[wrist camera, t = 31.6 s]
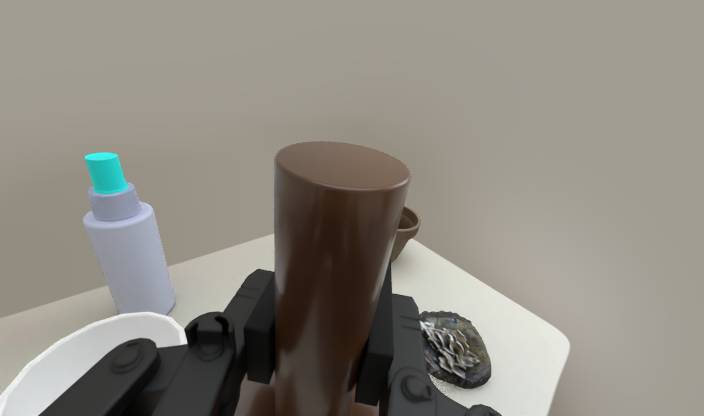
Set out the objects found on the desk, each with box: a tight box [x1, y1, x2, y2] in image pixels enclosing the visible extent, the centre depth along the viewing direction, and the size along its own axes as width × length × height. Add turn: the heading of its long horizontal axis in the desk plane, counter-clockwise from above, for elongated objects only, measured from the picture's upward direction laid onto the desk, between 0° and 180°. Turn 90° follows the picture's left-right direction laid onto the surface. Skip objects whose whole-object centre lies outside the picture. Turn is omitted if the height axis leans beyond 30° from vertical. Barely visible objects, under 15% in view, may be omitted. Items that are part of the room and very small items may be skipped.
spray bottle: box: [83, 153, 175, 315], centre depth 31 cm, size 6×6×22 cm
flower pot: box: [391, 206, 421, 262], centre depth 52 cm, size 12×11×10 cm
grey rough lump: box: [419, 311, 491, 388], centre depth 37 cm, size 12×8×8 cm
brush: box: [234, 141, 411, 416], centre depth 9 cm, size 7×5×15 cm
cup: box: [0, 312, 188, 416], centre depth 23 cm, size 12×12×10 cm
